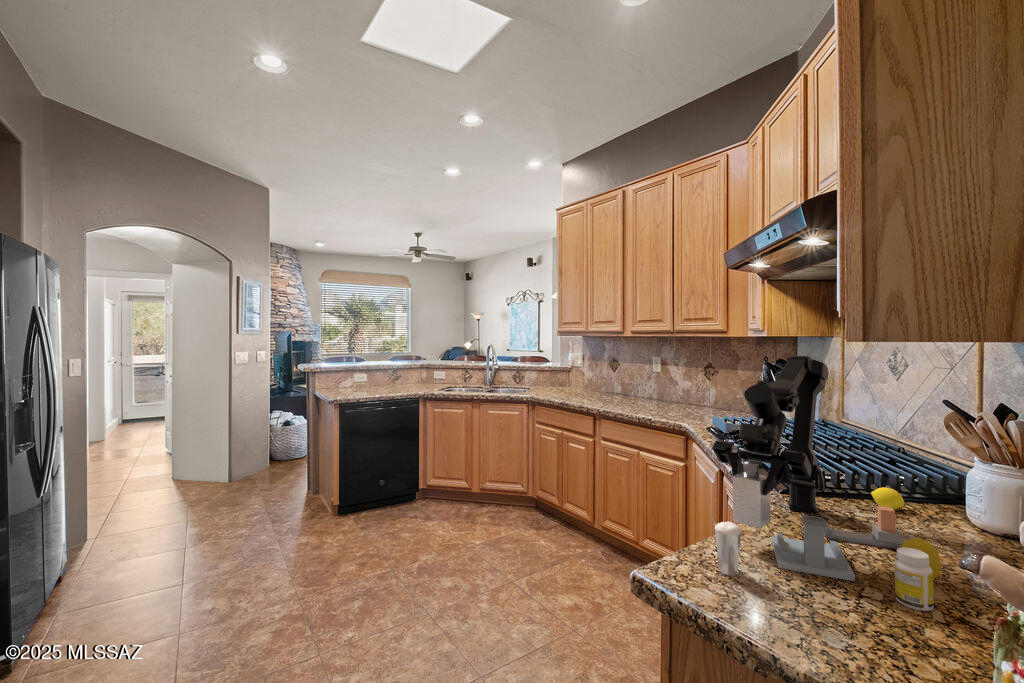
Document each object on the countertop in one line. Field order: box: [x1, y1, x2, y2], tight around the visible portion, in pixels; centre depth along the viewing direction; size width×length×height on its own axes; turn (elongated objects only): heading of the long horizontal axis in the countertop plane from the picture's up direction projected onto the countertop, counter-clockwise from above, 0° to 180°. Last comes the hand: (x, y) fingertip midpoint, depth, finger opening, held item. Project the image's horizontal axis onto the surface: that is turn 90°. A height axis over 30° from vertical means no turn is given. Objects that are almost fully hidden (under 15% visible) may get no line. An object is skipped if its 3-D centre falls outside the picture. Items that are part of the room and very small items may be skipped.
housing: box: [732, 460, 772, 529], centre depth 96 cm, size 6×6×12 cm
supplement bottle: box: [893, 547, 935, 612], centre depth 74 cm, size 5×5×8 cm
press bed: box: [771, 514, 856, 582], centre depth 90 cm, size 13×12×10 cm
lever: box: [871, 505, 903, 544], centre depth 96 cm, size 4×4×6 cm
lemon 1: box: [870, 486, 905, 511], centre depth 118 cm, size 7×5×5 cm
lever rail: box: [824, 523, 916, 550], centre depth 98 cm, size 4×16×2 cm, turn 64°
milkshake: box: [710, 514, 742, 577], centre depth 86 cm, size 4×5×10 cm
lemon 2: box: [901, 536, 942, 580], centre depth 81 cm, size 6×6×8 cm
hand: (748, 491), depth 95 cm, fingers closed on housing, 5 cm apart
